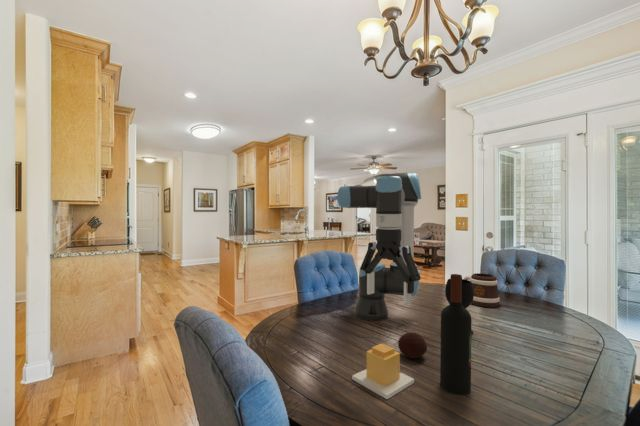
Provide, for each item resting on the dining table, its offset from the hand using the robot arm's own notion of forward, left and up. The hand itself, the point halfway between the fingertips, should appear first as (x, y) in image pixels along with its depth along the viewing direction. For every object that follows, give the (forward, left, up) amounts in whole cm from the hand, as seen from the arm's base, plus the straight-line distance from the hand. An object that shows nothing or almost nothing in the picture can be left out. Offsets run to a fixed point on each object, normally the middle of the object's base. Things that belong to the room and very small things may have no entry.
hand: (388, 298), depth 92 cm
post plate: (+4, -7, -21) cm, 22 cm away
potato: (+1, +12, -21) cm, 24 cm away
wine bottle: (+18, +6, -21) cm, 28 cm away
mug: (-12, +94, -21) cm, 97 cm away
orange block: (+4, -7, -20) cm, 21 cm away
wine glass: (0, +46, -21) cm, 51 cm away
